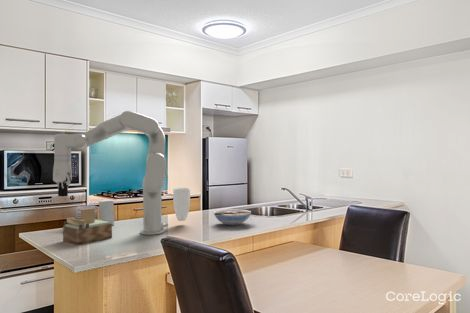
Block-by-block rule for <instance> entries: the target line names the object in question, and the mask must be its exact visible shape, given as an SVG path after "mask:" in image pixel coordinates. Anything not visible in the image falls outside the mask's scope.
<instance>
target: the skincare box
mask: <svg viewBox="0 0 470 313" xmlns="http://www.w3.org/2000/svg"><path fill="white" fill-rule="evenodd" d="M114 201H115V200H114V199H101V200H98V214H99V215H98V216H99V220H102V221H108V222H110V224H112V226H115V211H114V210H115V207H114V205H115V204H114Z"/></svg>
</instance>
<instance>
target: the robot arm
mask: <svg viewBox="0 0 470 313" xmlns="http://www.w3.org/2000/svg"><path fill="white" fill-rule="evenodd" d="M130 129H131V130H134V131H137V132H140V133H143V134H144V135H145V136H147V137H148V138H147V139H148V151H147V157H146V160H145V161H146V162H145V163H146V167H145V175H144V177H143V178H142V179H143V180H142V199H143V200H142V201H143V202H142V203H143V204H142V205H143V206H142V208H143V210H142V213H143V214H142V218H143V220H142V223H143V224H142V226H143V227H142V229H141V230H139V233H140V234H141V235H145V236H146V235H147V236H149V235H150V236H153V235H160V234H163V233H165V232H166V231H165V229H164V228H165V227H167V228H168V226H169V223H168V222H165V223H164V222H162V211H163V210H162V202H163V201H162V199H163V198H162V188H163V187H164V183H165V182H164V181H165V174H166V167H167V160H166V157H165V154H166V153H165V152H166V136H165V132H164V131H163V129H162V128H161V127H160V124H159V122H158V121H157V120H156V119H155V118H153V117H150V116H146V115H144V114H140V113H138V112H135V111H132V110H125V111H123V112H122V113H121V114H119V115H116V116H114V117H111V118H110V119H108V120H105V121H102V122H100V123H99V124H98V125H96V126H95V127H93V128H92V129H90V130H88V131H85V132H83V133H72V134H69V133H56V134H55V135H54V136H53V137H54V138H53V139H54V140H53V144H54V146H53V149H54V154H53V155H54V157H53V158H54V161H53V162H54V163H53V168H52V181H53V182H54V183H55V184H57V191H58V192H57V196H58V197H63V198H64V197H68V195H69V190H68V189H69V185H71V182H72V179H73V172H72V149H78V150H83V149H86V148H88V147H91V146H93V145H95V144H98V143H100V142H102V141H104V140H108V139H110V138H112V137H114V136H116V135H118V134H120V133H121V134H122V133H124V132H126V131H128V130H130Z"/></svg>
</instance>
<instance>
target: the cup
mask: <svg viewBox="0 0 470 313" xmlns="http://www.w3.org/2000/svg"><path fill="white" fill-rule="evenodd" d="M172 190H173V192H172V193H173V195H172V199H173V202H172V203H173V209H174V213H175V216H176V219H177V221H180V222H181V221H182V222H184V221H186V220H187V218H188V215H189V211H190V208H191V189H190V187H176V188H173V189H172Z"/></svg>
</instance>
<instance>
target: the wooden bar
mask: <svg viewBox="0 0 470 313" xmlns="http://www.w3.org/2000/svg"><path fill="white" fill-rule="evenodd" d="M66 222H67V224H75V225H82V226H86V220H81V219H76V218H75V217H67V218H66Z"/></svg>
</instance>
